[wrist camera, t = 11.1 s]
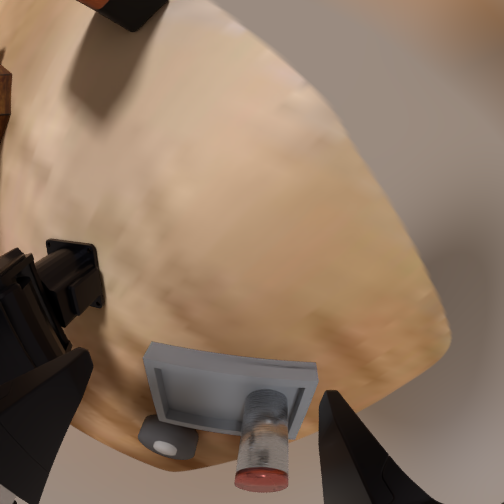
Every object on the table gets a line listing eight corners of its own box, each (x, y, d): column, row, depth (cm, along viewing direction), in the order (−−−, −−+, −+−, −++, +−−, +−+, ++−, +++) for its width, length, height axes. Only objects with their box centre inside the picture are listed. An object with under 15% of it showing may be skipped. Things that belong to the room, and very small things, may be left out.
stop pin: (237, 404, 26) (225, 485, 17) (259, 383, 24) (252, 473, 15) (272, 417, 27) (268, 494, 17) (296, 398, 25) (299, 482, 16)
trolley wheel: (149, 436, 33) (143, 453, 30) (139, 408, 30) (130, 428, 27) (200, 448, 33) (195, 467, 29) (196, 422, 30) (191, 444, 26)
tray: (164, 405, 29) (159, 420, 27) (151, 341, 25) (142, 357, 23) (294, 423, 28) (294, 439, 26) (315, 362, 24) (318, 381, 22)
